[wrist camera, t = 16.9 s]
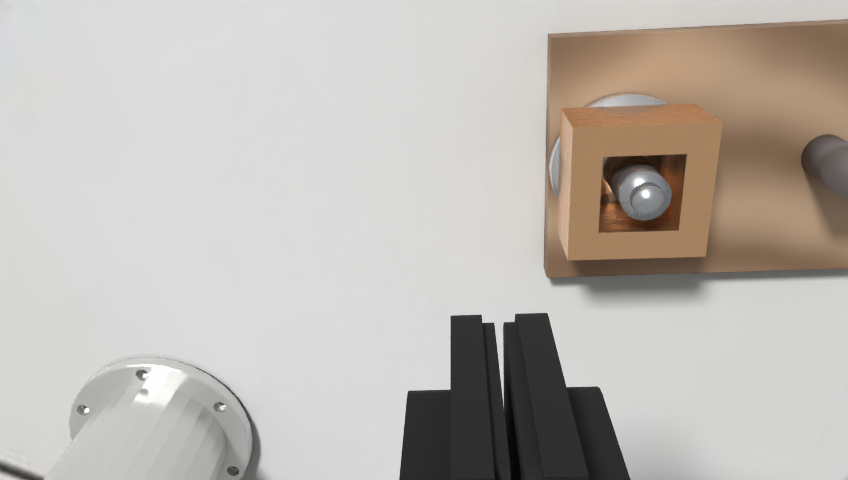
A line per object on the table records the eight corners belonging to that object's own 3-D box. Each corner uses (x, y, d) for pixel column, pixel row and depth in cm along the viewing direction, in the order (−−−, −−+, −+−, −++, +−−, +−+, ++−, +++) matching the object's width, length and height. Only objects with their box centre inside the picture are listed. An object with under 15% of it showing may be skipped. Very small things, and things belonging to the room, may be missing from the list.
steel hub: (687, 226, 40) (726, 275, 35) (547, 231, 41) (563, 280, 35) (701, 88, 37) (747, 117, 31) (550, 95, 38) (568, 124, 32)
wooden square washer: (681, 226, 39) (705, 256, 36) (556, 230, 40) (567, 260, 36) (695, 103, 36) (722, 122, 33) (560, 108, 37) (572, 127, 33)
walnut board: (858, 256, 42) (919, 305, 37) (543, 266, 43) (557, 315, 38) (911, 16, 37) (992, 31, 31) (548, 34, 38) (564, 51, 32)
